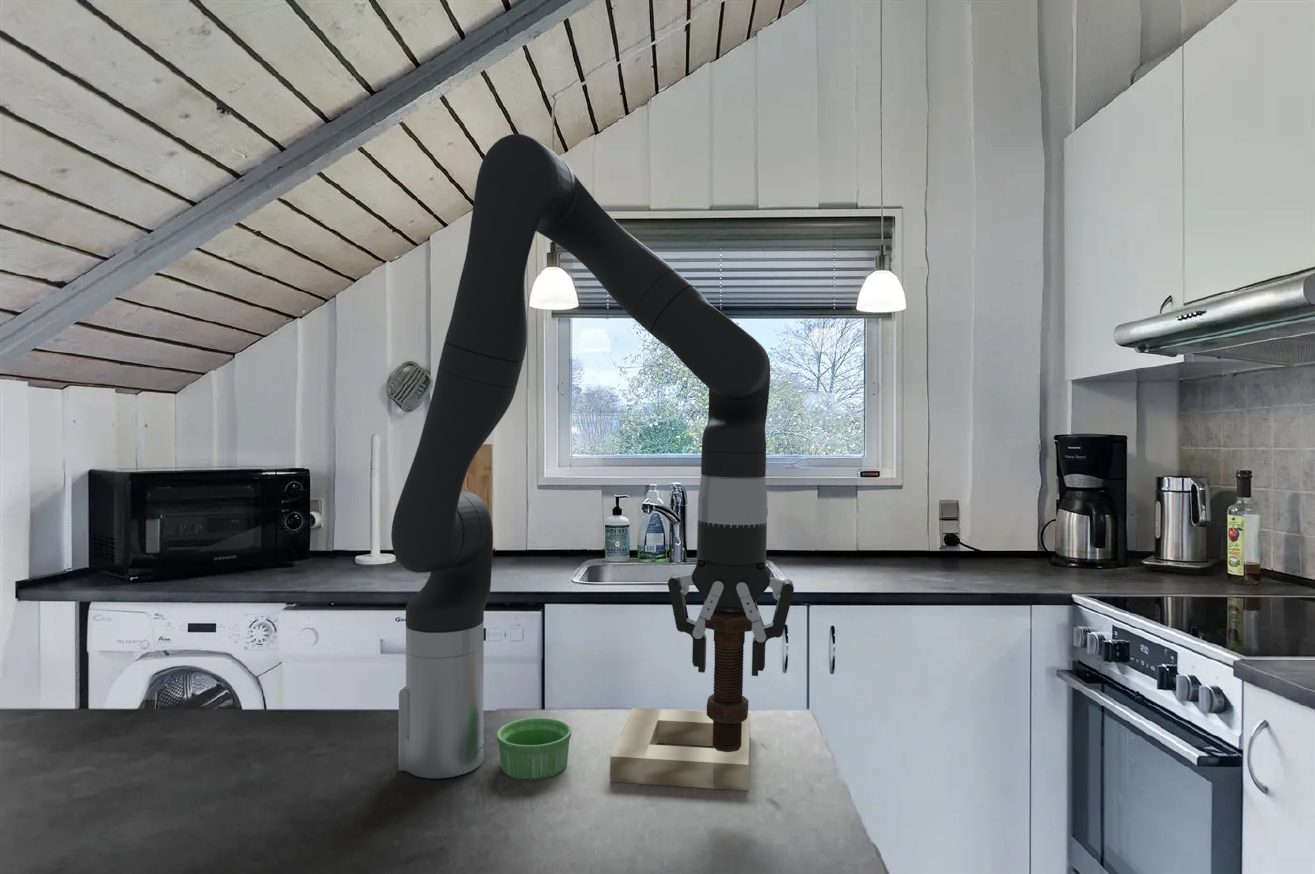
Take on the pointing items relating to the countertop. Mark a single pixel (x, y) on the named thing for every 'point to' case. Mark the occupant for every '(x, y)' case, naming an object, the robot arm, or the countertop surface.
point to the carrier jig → (677, 752)
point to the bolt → (728, 679)
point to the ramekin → (534, 748)
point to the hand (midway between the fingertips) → (728, 671)
